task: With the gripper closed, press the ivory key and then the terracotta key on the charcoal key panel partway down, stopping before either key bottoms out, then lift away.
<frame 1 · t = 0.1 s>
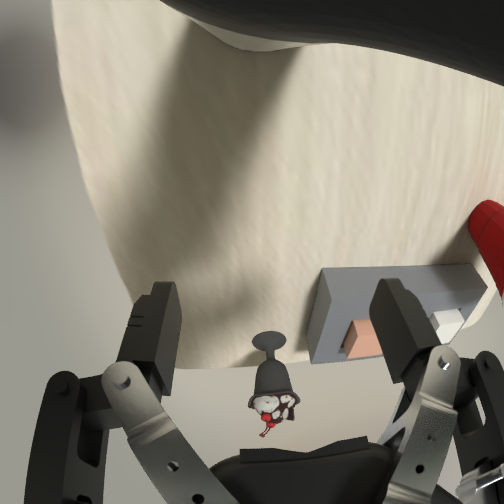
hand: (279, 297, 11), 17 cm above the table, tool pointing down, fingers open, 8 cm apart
key panel: (393, 301, 38), on the table
plastic cup: (482, 215, 30), on the table
sundae: (268, 339, 42), on the table
ivory key: (439, 323, 34), point 5 cm above the table, slide at 0.0 cm
terracotta key: (366, 333, 34), point 5 cm above the table, slide at 0.0 cm
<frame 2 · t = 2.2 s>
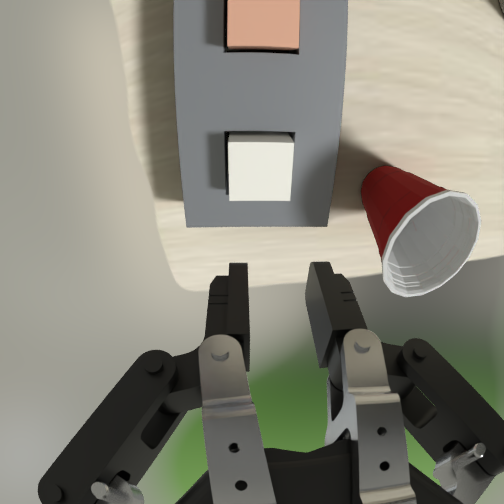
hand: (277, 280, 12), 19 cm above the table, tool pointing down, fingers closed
key panel: (257, 87, 24), on the table
plastic cup: (384, 188, 31), on the table
ivory key: (259, 163, 23), point 5 cm above the table, slide at 0.0 cm
terracotta key: (262, 19, 16), point 5 cm above the table, slide at 0.0 cm
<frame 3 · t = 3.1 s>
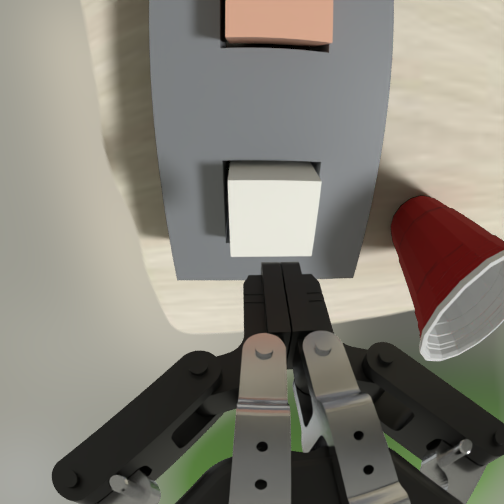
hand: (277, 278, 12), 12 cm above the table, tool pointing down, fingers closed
key panel: (267, 95, 18), on the table
plastic cup: (417, 221, 25), on the table
ivory key: (270, 204, 18), point 5 cm above the table, slide at 0.0 cm
terracotta key: (276, 1, 11), point 5 cm above the table, slide at 0.0 cm
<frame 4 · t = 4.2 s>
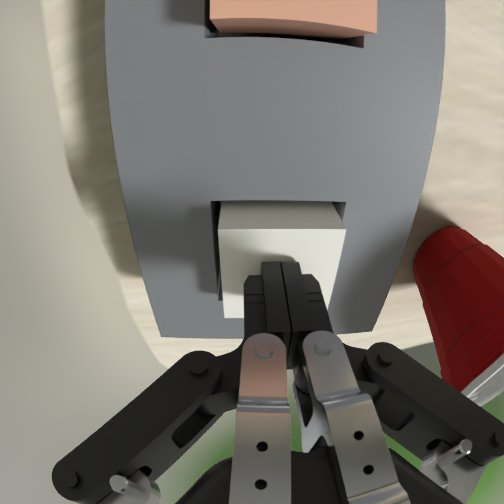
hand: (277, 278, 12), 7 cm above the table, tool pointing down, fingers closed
key panel: (271, 104, 14), on the table
plastic cup: (442, 254, 20), on the table
ivory key: (275, 250, 14), point 5 cm above the table, slide at 0.5 cm, touching gripper
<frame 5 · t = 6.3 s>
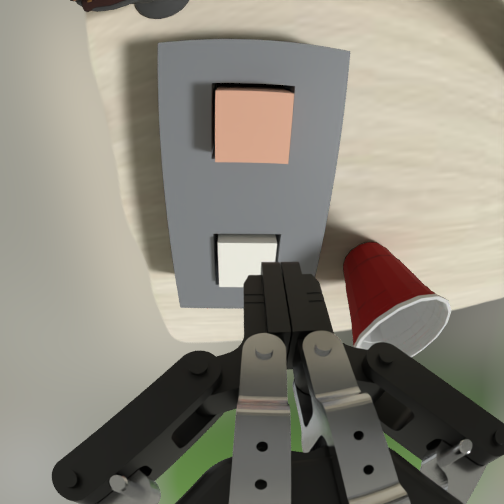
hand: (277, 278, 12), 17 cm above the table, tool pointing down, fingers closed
key panel: (246, 175, 27), on the table
plastic cup: (366, 261, 34), on the table
ivory key: (245, 252, 27), point 4 cm above the table, slide at 1.2 cm
terracotta key: (252, 121, 19), point 5 cm above the table, slide at 0.0 cm
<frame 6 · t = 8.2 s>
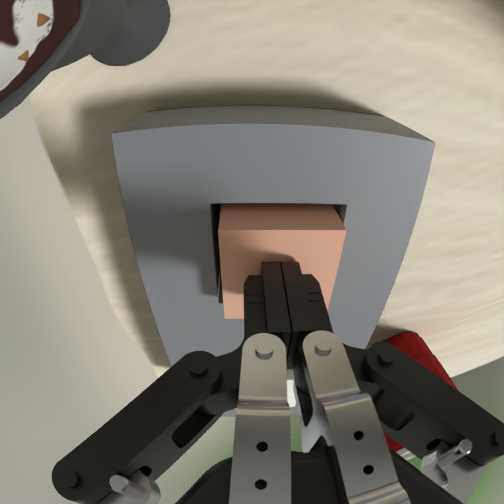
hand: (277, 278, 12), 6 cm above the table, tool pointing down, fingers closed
key panel: (265, 283, 21), on the table
plastic cup: (397, 347, 27), on the table
sundae: (126, 23, 11), on the table
ivory key: (264, 373, 21), point 4 cm above the table, slide at 1.2 cm
terracotta key: (275, 251, 14), point 4 cm above the table, slide at 0.6 cm, touching gripper
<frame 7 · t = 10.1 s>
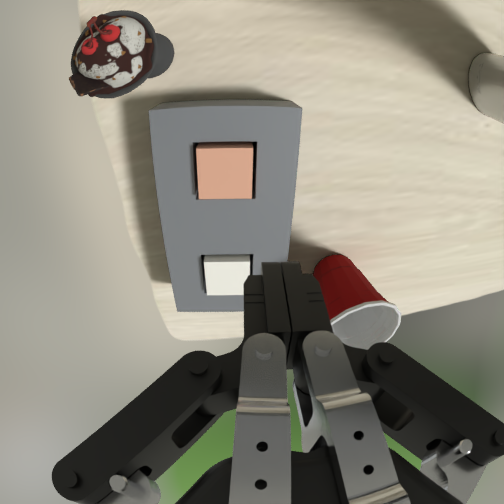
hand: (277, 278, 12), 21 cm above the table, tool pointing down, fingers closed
key panel: (226, 205, 33), on the table
plastic cup: (333, 270, 40), on the table
sundae: (150, 55, 23), on the table
ivory key: (227, 267, 34), point 4 cm above the table, slide at 1.2 cm
terracotta key: (225, 166, 27), point 4 cm above the table, slide at 1.2 cm
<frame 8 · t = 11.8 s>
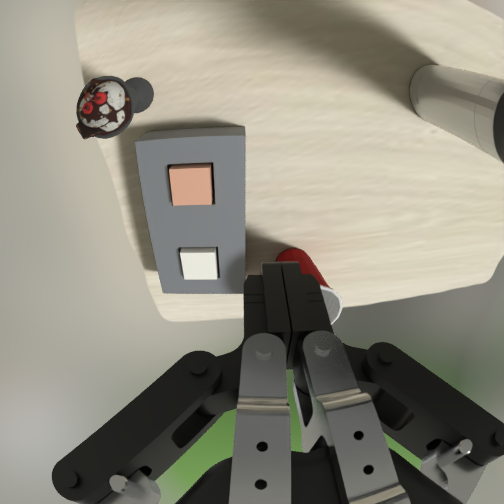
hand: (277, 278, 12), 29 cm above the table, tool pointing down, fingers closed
key panel: (199, 209, 42), on the table
plastic cup: (293, 261, 49), on the table
sundae: (136, 94, 32), on the table
ivory key: (200, 257, 43), point 4 cm above the table, slide at 1.2 cm
terracotta key: (192, 180, 36), point 4 cm above the table, slide at 1.2 cm
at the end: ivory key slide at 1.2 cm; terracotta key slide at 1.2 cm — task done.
